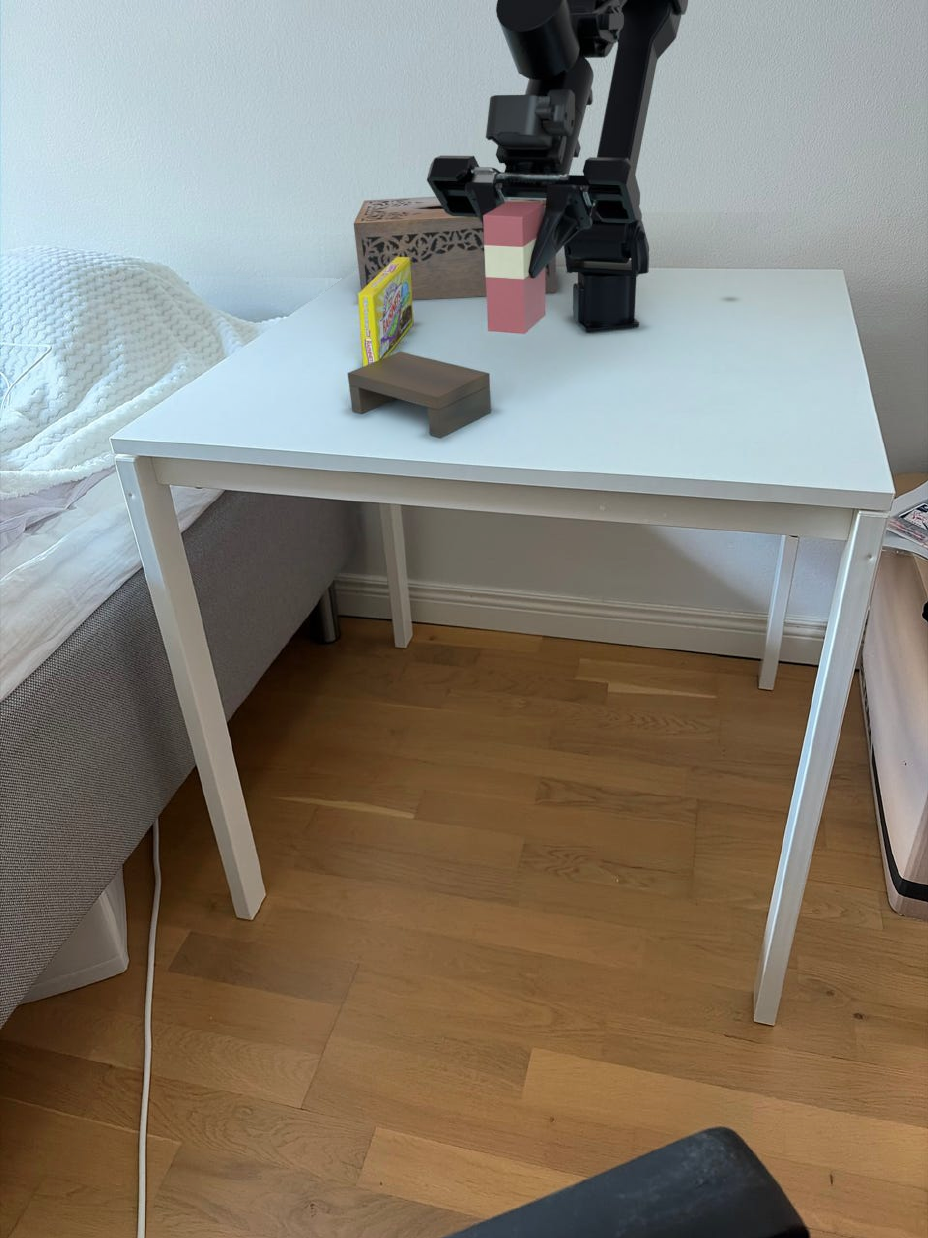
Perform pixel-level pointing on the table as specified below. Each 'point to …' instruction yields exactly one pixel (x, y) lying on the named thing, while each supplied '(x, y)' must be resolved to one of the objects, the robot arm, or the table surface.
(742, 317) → the table surface
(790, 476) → the table surface
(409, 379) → the shelf
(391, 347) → the candy box
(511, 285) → the packet
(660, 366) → the table surface
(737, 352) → the table surface
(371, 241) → the tissue box cover
